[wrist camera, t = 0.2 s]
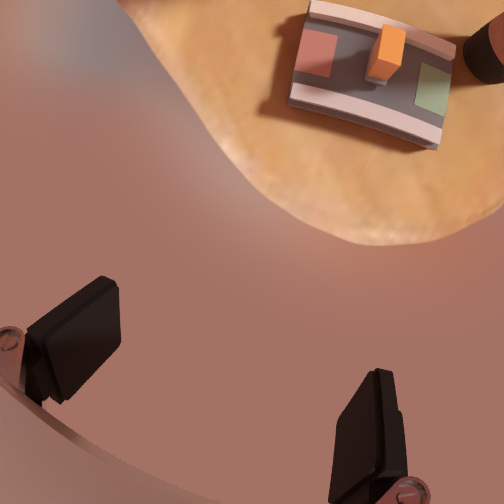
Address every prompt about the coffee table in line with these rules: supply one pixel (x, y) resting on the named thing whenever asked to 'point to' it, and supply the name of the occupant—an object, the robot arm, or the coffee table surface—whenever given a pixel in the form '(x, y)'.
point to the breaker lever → (385, 55)
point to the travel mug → (487, 52)
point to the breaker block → (354, 70)
